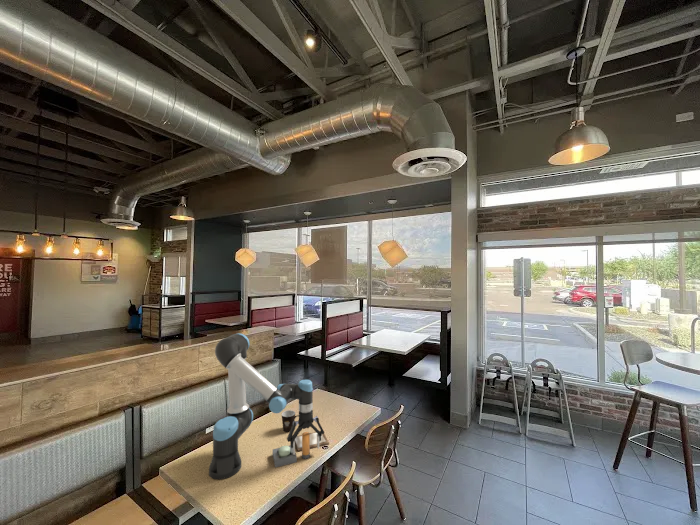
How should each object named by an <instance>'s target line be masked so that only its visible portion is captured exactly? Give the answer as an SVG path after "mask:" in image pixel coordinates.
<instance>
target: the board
mask: <svg viewBox="0 0 700 525" xmlns="http://www.w3.org/2000/svg"><path fill="white" fill-rule="evenodd" d="M309 433H310V450H311V449H316V448H317V433H316V432H315V431H314V432H309ZM294 441H295V448H296V449H297V452H302V434H300V435H299V434H298V435H297V437H296V438H295V440H294ZM328 445H330V441H329V440H328V438H327V436H326V435H325V433H324V434H322V436H321V441H319V448H321V447H324V446H328Z"/></svg>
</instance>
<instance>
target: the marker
mask: <svg viewBox="0 0 700 525" xmlns="http://www.w3.org/2000/svg"><path fill="white" fill-rule="evenodd" d="M310 433H311V432H308V431H306V432H304V431H303V432H302V434H301V435H302V451H301V458H302V459H303V460H308V459H310V457H311V452H310V450H311V449H310Z"/></svg>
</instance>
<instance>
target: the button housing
mask: <svg viewBox="0 0 700 525" xmlns="http://www.w3.org/2000/svg"><path fill="white" fill-rule="evenodd" d="M288 446H289V447H290V456H286V457H282V458H280V457H279V448H280V447H277V448H273V449H272V458H273V463H274V464H273V465H274V468H280V467H283V466H287V465H290V464H295V463H297V459H298V457H297V454H296V452H295V455H293V452H292V448H291V446H290V445H288Z"/></svg>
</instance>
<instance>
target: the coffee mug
mask: <svg viewBox="0 0 700 525" xmlns="http://www.w3.org/2000/svg"><path fill="white" fill-rule="evenodd" d="M297 417H298V418H299V414H298V415H296V411H295V410H293V409H292V410H291V409H290V410H289V409H287V410H284V411H283V412H282V413H281V420H282V430H283V432H285V433H289V432H290V430H291V427H292V425H293V421H296V418H297Z"/></svg>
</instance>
